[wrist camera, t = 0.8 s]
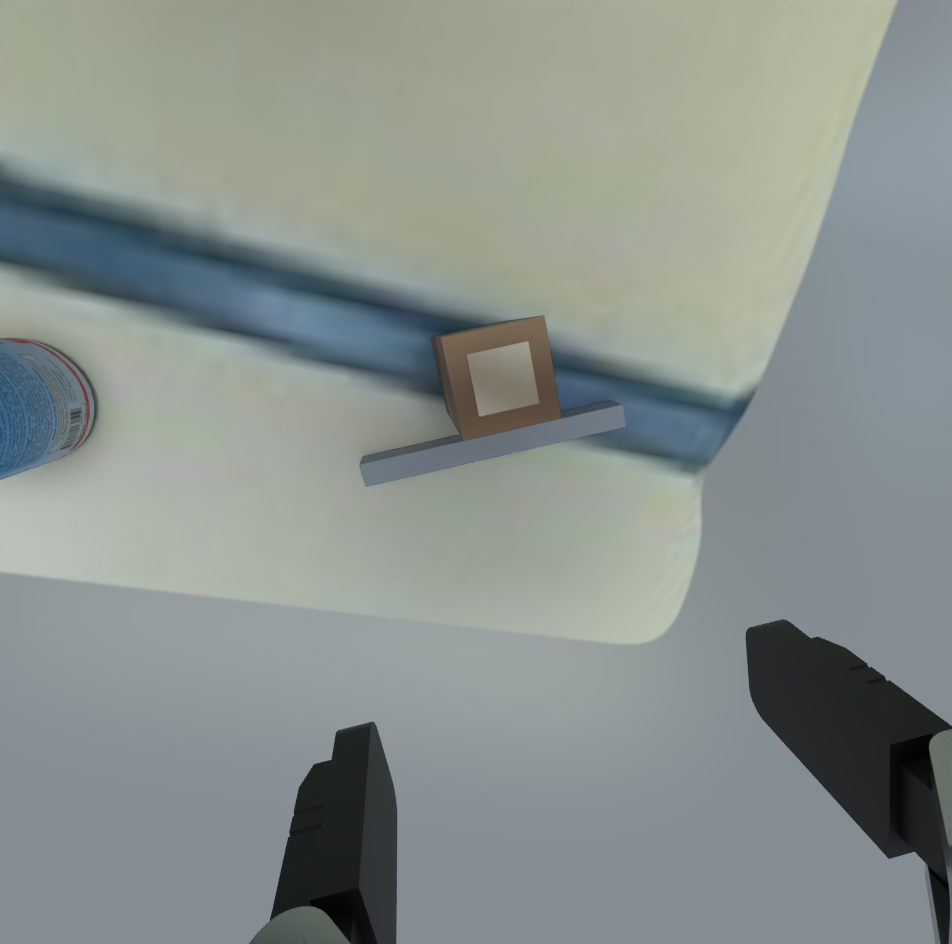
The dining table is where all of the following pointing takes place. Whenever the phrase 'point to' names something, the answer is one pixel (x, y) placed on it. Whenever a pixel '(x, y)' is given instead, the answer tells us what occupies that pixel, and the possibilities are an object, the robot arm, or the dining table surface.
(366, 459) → the rail
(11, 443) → the pill bottle
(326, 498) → the dining table surface
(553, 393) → the walnut block
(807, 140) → the dining table surface
